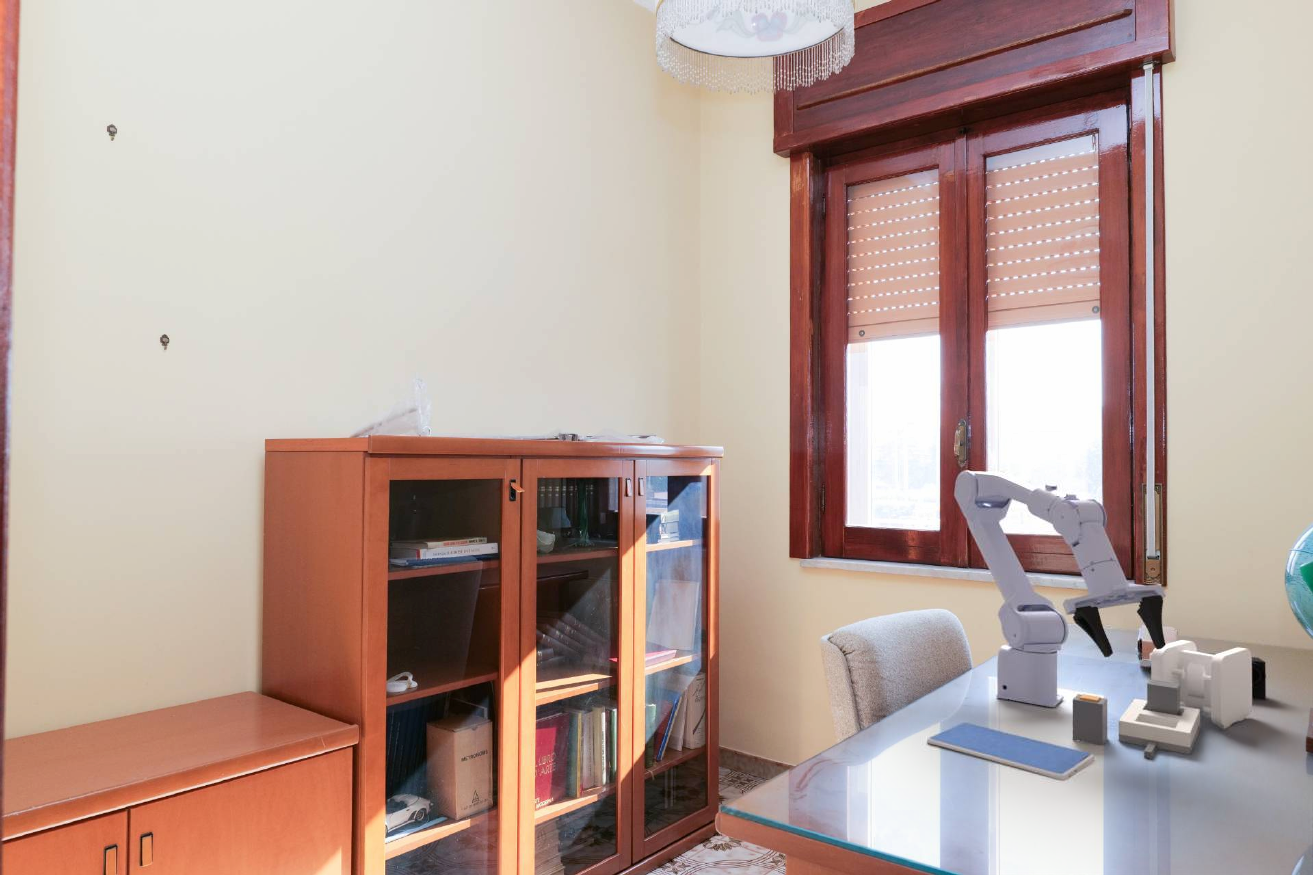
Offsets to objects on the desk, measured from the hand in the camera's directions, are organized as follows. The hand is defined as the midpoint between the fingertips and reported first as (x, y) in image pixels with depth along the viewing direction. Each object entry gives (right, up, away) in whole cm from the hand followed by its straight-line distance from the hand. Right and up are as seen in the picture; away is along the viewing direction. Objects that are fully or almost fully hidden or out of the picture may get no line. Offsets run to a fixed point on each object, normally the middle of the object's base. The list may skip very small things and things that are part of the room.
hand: (1135, 651), depth 124 cm
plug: (-7, -13, -1) cm, 15 cm away
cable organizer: (+18, -14, +12) cm, 26 cm away
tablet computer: (-22, -13, -7) cm, 27 cm away
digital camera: (+33, -15, +27) cm, 46 cm away
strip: (+3, -13, 0) cm, 14 cm away
